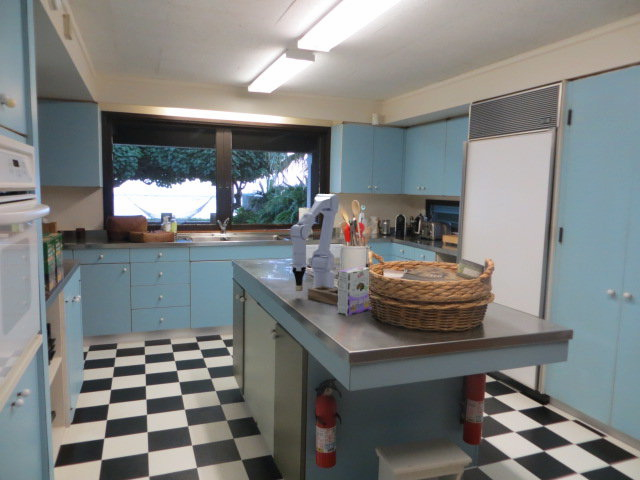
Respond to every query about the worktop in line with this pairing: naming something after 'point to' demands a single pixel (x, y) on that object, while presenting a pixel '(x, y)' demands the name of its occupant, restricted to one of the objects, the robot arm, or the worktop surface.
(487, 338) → the worktop surface
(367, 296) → the candy box
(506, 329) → the worktop surface
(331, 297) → the socket block
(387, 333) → the worktop surface
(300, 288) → the pin
